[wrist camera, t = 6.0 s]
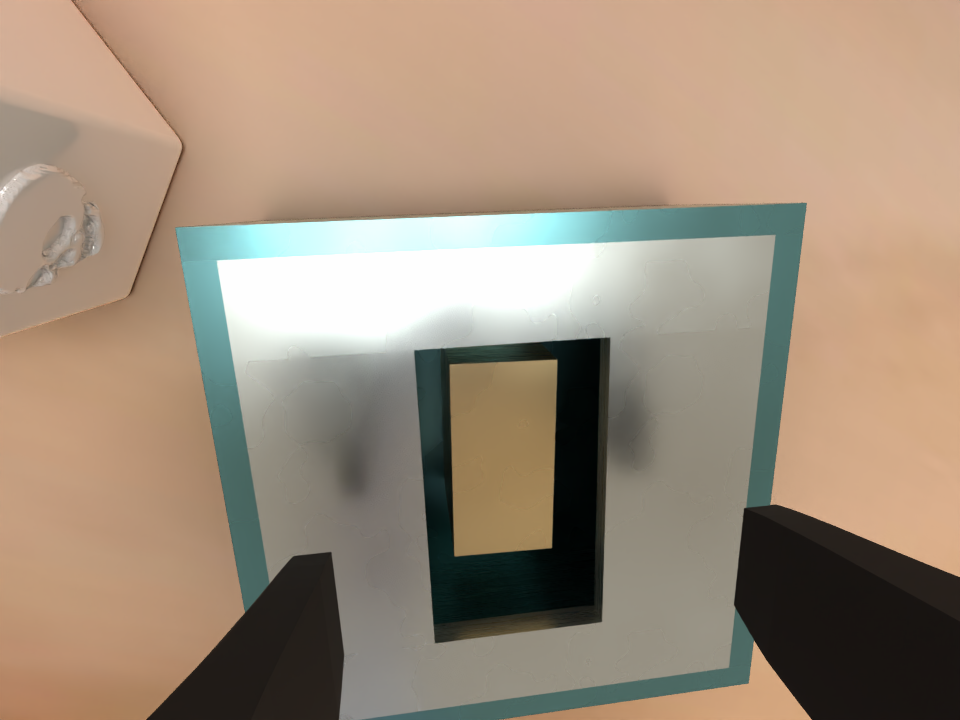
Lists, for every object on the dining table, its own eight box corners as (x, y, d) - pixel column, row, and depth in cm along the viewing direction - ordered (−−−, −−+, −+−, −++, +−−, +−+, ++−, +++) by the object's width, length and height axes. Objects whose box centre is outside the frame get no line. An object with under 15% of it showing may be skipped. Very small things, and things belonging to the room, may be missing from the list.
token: (520, 475, 18) (551, 547, 14) (444, 480, 18) (454, 556, 14) (522, 324, 16) (557, 359, 13) (439, 327, 16) (449, 364, 12)
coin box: (650, 546, 20) (748, 683, 14) (312, 584, 19) (270, 752, 13) (669, 205, 17) (806, 203, 11) (261, 220, 15) (175, 227, 10)
